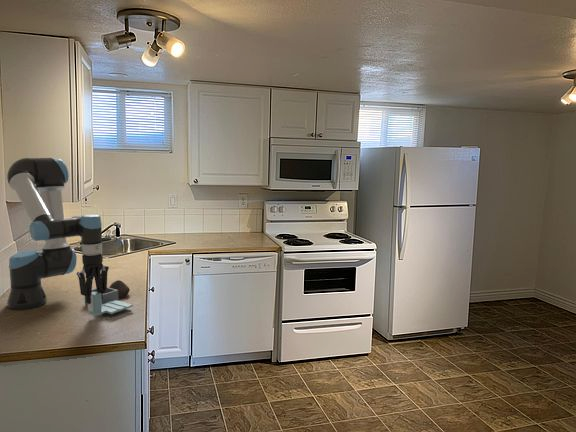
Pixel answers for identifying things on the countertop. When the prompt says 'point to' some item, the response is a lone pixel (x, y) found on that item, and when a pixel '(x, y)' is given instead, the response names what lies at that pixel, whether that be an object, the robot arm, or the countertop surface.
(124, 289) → the stone
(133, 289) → the countertop surface
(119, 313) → the mat
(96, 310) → the pale blue ridged block
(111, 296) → the tub
